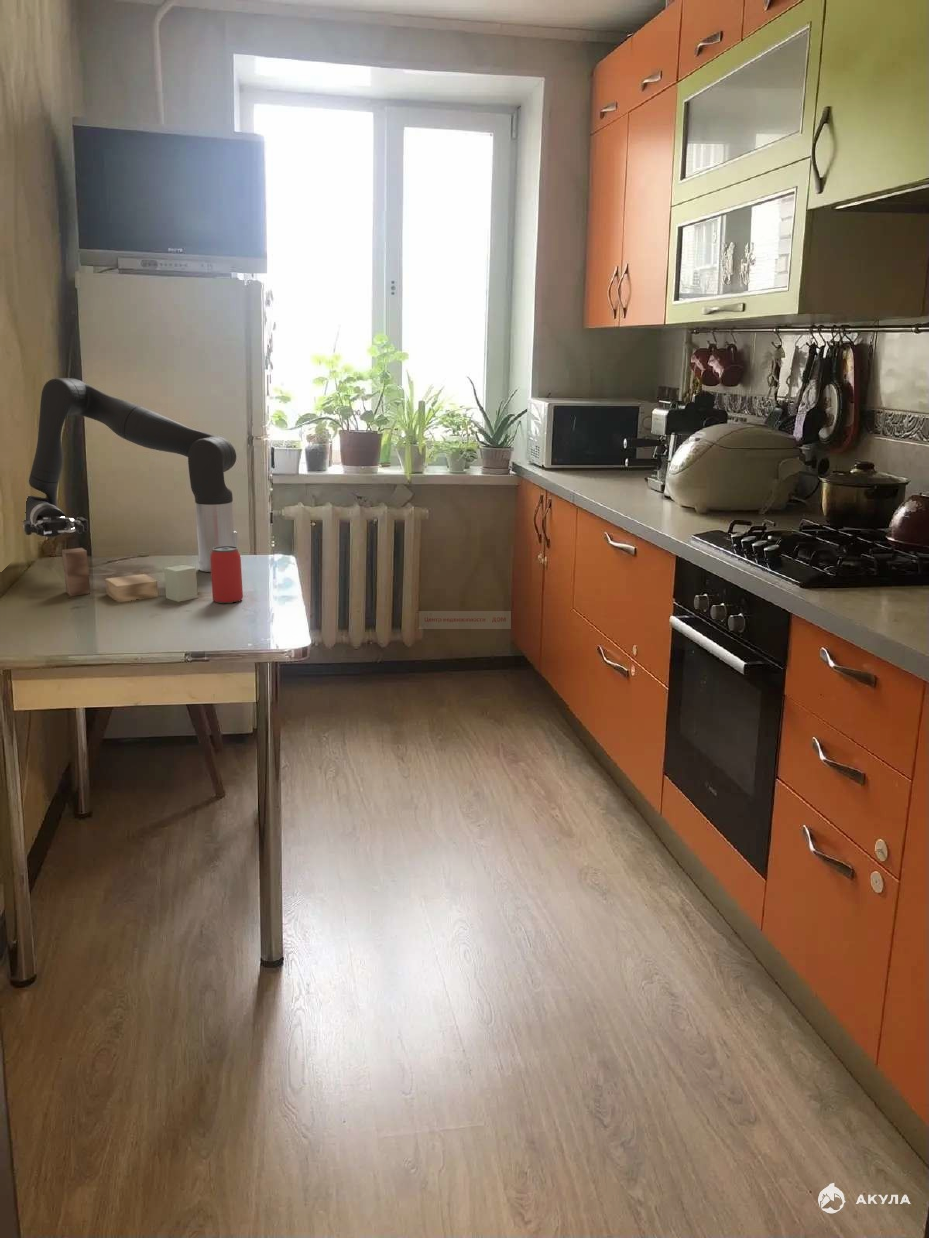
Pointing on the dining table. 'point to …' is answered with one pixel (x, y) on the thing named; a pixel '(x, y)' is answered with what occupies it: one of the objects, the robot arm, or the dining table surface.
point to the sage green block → (180, 582)
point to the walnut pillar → (76, 571)
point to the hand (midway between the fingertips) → (61, 530)
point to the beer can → (226, 574)
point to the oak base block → (131, 587)
